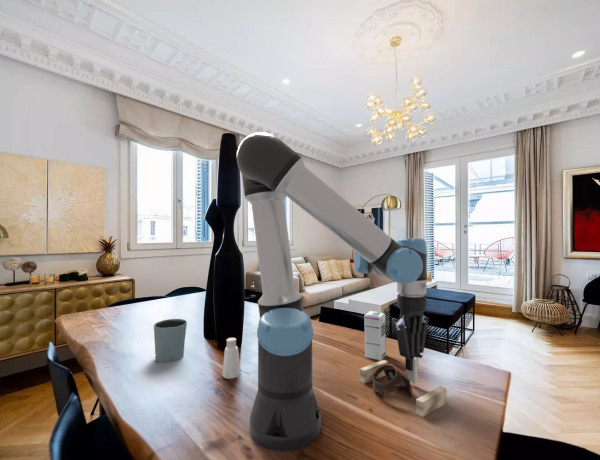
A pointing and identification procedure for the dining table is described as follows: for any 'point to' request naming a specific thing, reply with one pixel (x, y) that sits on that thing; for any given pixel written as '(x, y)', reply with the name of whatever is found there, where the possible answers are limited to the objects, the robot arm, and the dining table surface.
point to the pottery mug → (391, 379)
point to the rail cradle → (423, 403)
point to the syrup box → (375, 335)
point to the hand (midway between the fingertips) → (411, 380)
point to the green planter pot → (169, 340)
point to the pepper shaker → (231, 360)
